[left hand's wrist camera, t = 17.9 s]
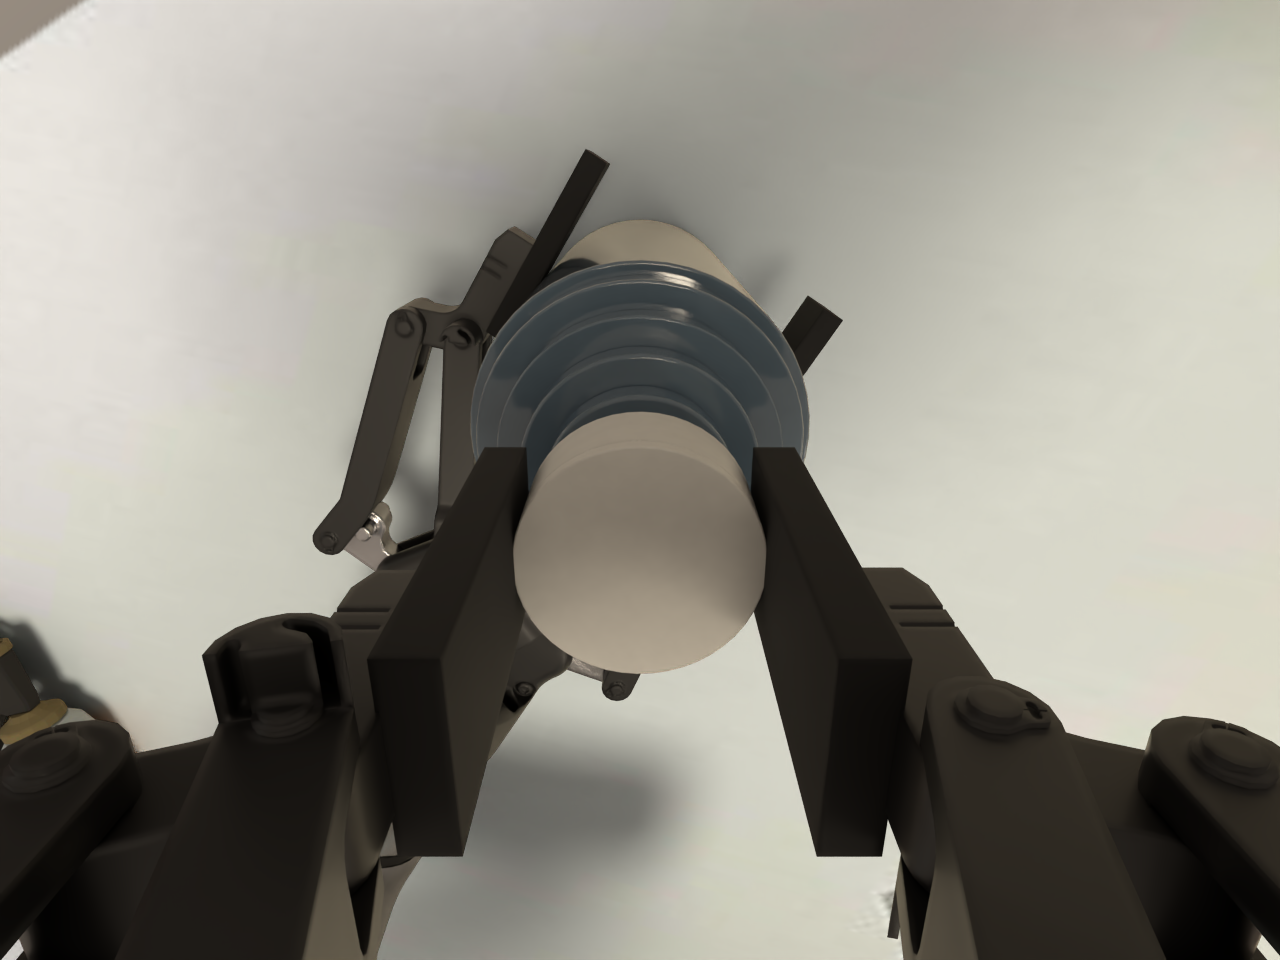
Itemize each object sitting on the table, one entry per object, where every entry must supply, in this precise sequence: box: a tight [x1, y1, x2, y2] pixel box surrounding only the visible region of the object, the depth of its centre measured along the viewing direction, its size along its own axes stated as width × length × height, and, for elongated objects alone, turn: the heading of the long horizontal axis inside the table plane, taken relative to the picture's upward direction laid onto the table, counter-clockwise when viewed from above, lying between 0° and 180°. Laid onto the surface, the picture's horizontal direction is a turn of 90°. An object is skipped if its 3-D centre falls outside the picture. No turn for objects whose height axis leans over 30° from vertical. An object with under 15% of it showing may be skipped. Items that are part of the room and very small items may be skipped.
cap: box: [513, 412, 766, 674], centre depth 13 cm, size 4×4×2 cm
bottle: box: [471, 220, 809, 492], centre depth 23 cm, size 8×8×22 cm
